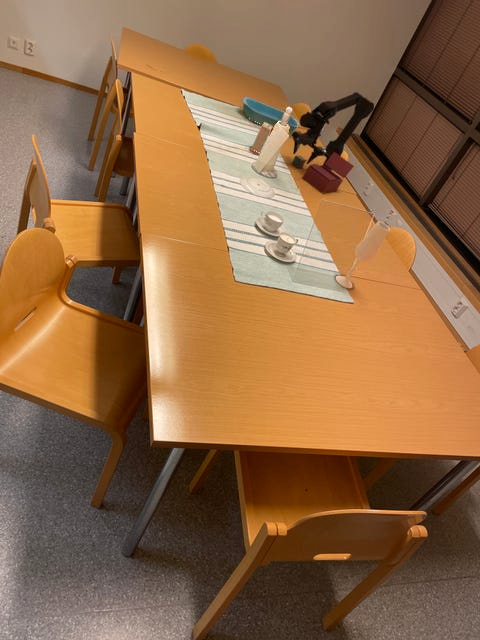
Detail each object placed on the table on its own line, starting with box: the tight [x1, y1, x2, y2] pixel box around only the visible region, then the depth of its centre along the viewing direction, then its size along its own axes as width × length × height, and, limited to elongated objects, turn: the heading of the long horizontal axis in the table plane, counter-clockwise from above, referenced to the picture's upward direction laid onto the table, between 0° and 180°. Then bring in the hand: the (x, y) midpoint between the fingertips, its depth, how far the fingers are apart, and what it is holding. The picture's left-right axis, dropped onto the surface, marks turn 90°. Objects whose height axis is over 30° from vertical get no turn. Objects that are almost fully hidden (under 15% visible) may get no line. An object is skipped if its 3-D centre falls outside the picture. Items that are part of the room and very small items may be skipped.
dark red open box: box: [302, 163, 344, 194], centre depth 232 cm, size 15×13×7 cm
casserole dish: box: [241, 97, 300, 135], centre depth 273 cm, size 37×22×7 cm, turn 103°
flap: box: [325, 152, 355, 179], centre depth 234 cm, size 7×13×1 cm
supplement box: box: [250, 122, 273, 155], centre depth 227 cm, size 8×5×13 cm, turn 168°
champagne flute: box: [335, 221, 391, 289], centre depth 160 cm, size 7×7×24 cm
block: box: [291, 155, 307, 169], centre depth 239 cm, size 4×4×4 cm
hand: (300, 159), depth 239 cm, fingers open, 9 cm apart
